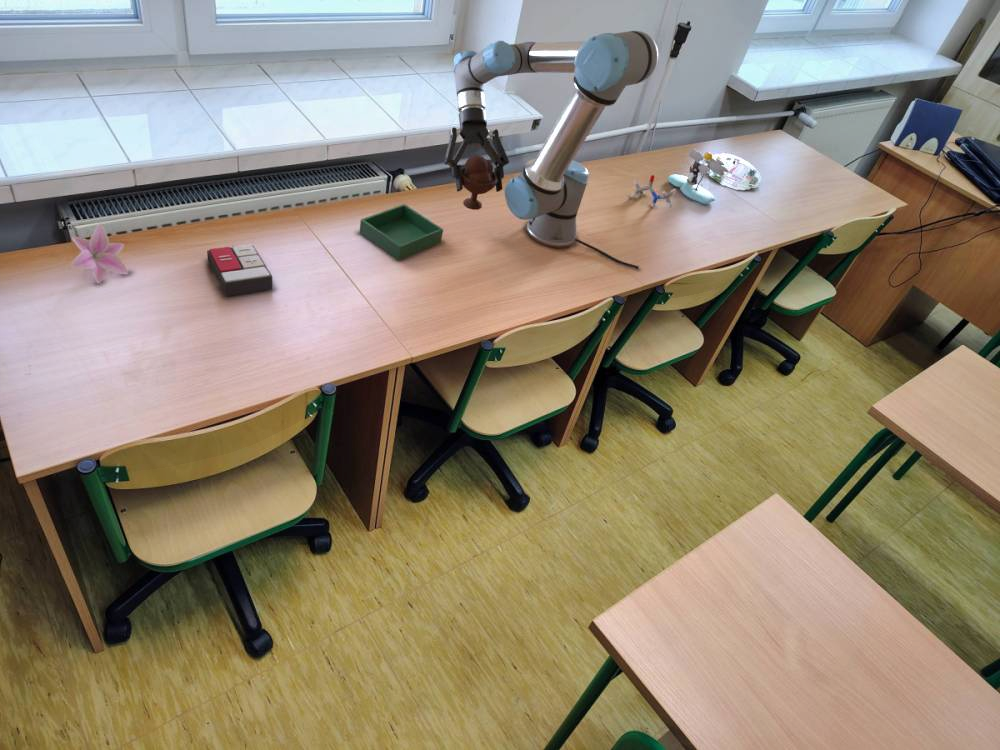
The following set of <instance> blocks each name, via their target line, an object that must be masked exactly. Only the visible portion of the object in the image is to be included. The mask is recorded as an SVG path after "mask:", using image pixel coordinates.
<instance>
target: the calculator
mask: <svg viewBox="0 0 1000 750" xmlns="http://www.w3.org/2000/svg"><path fill="white" fill-rule="evenodd" d="M206 254H207V255H206V256H207V262H208V264H209V266H210V268H211V269H212V272H213V274H214V276H215V277H216V280H217V282H218V283H219V287H220V289H221V291H222V294H223V295H224V296H225V297H231V296H238V295H245V294H250V293H257V292H264V291H271V290H273V275H272V274H271V272H270V270H269V269H268V267H267V265H266V264H265V262H264V260H263V259H262V257H261V256H260V253H259V252H258V251H257V249H256V247H255V245H254V244H252V243H249V244H240V245H233V246H231V247H230V246H224V247H215V248H210V249H209V250H207V251H206Z"/></svg>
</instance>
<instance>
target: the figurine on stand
mask: <svg viewBox="0 0 1000 750" xmlns="http://www.w3.org/2000/svg"><path fill="white" fill-rule="evenodd" d="M712 155H713V154H712V153H711V152H709V151H708V152H705V153H704V155H703V154H702V153H701V152H700V151H699V150H697V149H695V148H691V149H690V152H689V153H688V156H689V158H691V159H692V160H694V162H693V163H692V166H689V174H688V177H687V176H686V175H681V174H677V173H676V174H675V173H674V174H669V176H668V177H667V181H668V183H670V184H671V185H672V186H674V187H676V188H679V189H680V191H681V193H682V194H683V195H685V197H687V198H688V199H690V200H692V201H695V202H697V203H700V204H702V205H709V204H711V203H712V202H715V201H716V198H715V196H714V195H713V194H712V193H711V192H710V191H709V190H707V189H706V188H704V187H703V184H701V183H702V181H703V179H706V175H707V174H709V173H708V172H709V171H710V169H711V170H712V171H713V172H716V173H717V174H719V175H720V176H723V175H724V172H728V169H727V168H726V167H725V166H724V163H723V162H722V161H721V160H720V159H714V158H712ZM704 163H706V164H708V165H709V168H710V169H709V168H708V167H707V165H706V166H705V164H704ZM683 168H684V167H683V166H681V169H683ZM723 171H724V172H723ZM699 176H701V178H700V179H699V181H698V177H699Z"/></svg>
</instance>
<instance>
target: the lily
mask: <svg viewBox="0 0 1000 750" xmlns="http://www.w3.org/2000/svg"><path fill="white" fill-rule="evenodd" d="M71 239H72V241H73V243H74V244H75V245H76V247H77V248H78V249H79V250H80V252H79V254H78V255H77V256H76V257H75V258H74V259H73V260H72V261H71V263H70V264H69V268H71V269H72V270H73V269H74V270H91V272H92V275H93V278H94V279H95V281H96V283H97V284H101V282H102V281H103V280H104V277H105V275H106V272H111V273H115V274H121V275H128V274H129V271H128V269H127V267H126V265H125V264H124V263H123V261H122V260H121V259H120V258H119V257H118V256H117V255H118V254H119V253H120V252H122V250H123V249H124V247H125V244H124V243H121V242H110V240H109V237H108V234H107V231H106V229H105V227H104V226H103V224H102V223H101V222H100V223H97V225H96V226H95V229H94V230H93V232H92V234H91V237H90V239H86V238H84V237H80V236H74V235H72V236H71Z"/></svg>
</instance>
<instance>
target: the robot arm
mask: <svg viewBox="0 0 1000 750" xmlns="http://www.w3.org/2000/svg"><path fill="white" fill-rule="evenodd" d="M658 62H659V49H658V46H657V44H656V41H655V40H654V38H653V37H652V36H651V35H650V34H648V33H646V32H644V31H642V30H641V31H640V30H630V31H623V32H614V33H613V32H604V33H600V34H597V35H595V36H592V37H590V38H588V39H587V40H572V41H571V40H570V41H541V42H539V41H538V42H536V41H525V42H521V43H513V44H512V43H511V44H509V43H508V42H506V41H504V40H497V41H495V42H493V43H490V44H488V45H487V46H486V47H484V48H483V49H482V50H480V51H479V52H478V51H474V50H464V51H461V52H460V51H459V52H458V53H456V55H455V56H454V59H453V74H454V81H455V90H456V101H457V111H458V112H459V113H458V122H459V128H456V127H455V126H454V127H452V128H451V129H450V130H449V141H448V144H447V148H446V152H445V157H444V161H443V163H444V165H446V166H447V165H448V166H449V168H450V169H451V176H452V179H455V185H456V192H461V191H462V190H463V189H464V186H463V185H462V175H461V168H462V166H461V164H458V163H459V162H460V160H461V158H462V156H463V154H464V153H465V151H466V149H467V147H472V146H475V147H480V148H481V149H483V150H484V152H485V153H486V154H487V156H488V158H489V159H490V160H491V161H492V163H493V164H494V165H495V167H493V172H494V173H496V174H497V178H498V182H497V184H496V185H495V191H496V193H497V192H501V191H502V190H503V179H504V178H505V173H504V171H505V170H504V167H506V166H507V165H508V164H509V163H510V160H509V157H508V155H507V152H506V151H505V148H504V146H503V143H502V142H501V141H502V140H501V139H500V134H499V130H498V129H497V128H496V129H493V130H489V129H488V122H487V120H488V119H487V112H486V102H485V101H486V100H485V92H484V84H487V83H488V82H490V81H492V80H493V79H495V78H498V77H499V78H500V77H506V76H510V75H517V74H531V73H533V74H537V73H549V74H550V73H551V74H552V73H554V74H555V73H556V74H557V73H558V74H560V73H561V74H574V76H573V81H572V82H573V84H574V89H573V91H572V93H571V94H570V96H569V98H568V100H567V102H566V104H565V105H564V107H563V108H562V111H561V112H560V114H559V116H558V117H557V120H556V122H555V123H554V125H553V127H552V128H551V130H550V132H549V134H548V136H547V138H546V139H545V141H544V143H543V144H542V146H541V148H540V150H539V152H538V153H537V155H536V157H535V158H534V159H530V160H528V161H527V162H526V163H525V165H524V167H523V169H522V170H521V172H520V174H519V175H518V176H514V177H512V178H511V179H509V180H508V181H507V183H506V184H505V188H504V198H505V202H506V203H505V204H506V205H507V208H508V209H509V211H510V212H511V213H512V214H513V216H514V217H516V218H518V219H519V220H523V221H527V224H526V228H525V231H526V233H527V235H528V236H529V237H530V238H531V239H532V240H534V241H535V242H537V243H538V244H541V245H542V246H545V247H549V248H554V249H555V248H556V249H565V248H568V247H571V246H572V245H574V244H575V242H577V243H578V244H581V245H582V246H585V247H587V248H589V249H591V250H593V251H595V252H596V253H599V254H601V255H603V256H605V257H607V258H608V259H610V260H611V261H614V262H616V263H618V264H620V265H624V266H626V267H630V268H634V269H637V270H638V269H639V268H640V266H639V265H636V264H632V263H629V262H626V261H622V260H620V259H617V258H615V257H613V256H612V255H610V254H608V253H606V252H605V251H603V250H601V249H599V248H598V247H595V246H593V245H591V244H589V243H587V242H585V241H582V240H580V239H578V238H577V233H578V231H577V216H578V212H579V209H580V206H581V203H582V200H583V198H584V194H585V190H586V189H587V188H586V187H587V186H588V180H589V176H590V174H589V171H588V169H587V168H586V166H584V165H583V164H581V163H580V162H579V161H576V160H574V159H575V157H576V155H578V153H579V151H580V150H581V147H582V146H583V144H584V142H585V141H586V140H587V137H588V136H589V134H590V133H591V131H592V130H593V128H594V126H595V125H596V124H597V122H598V120H599V118H600V116H601V115H602V114H603V112H604V110H605V108H606V107H610V106H613V105H615V104H616V103H617V101H618V99H619V97H621V95H622V93H623V91H624V90H625V88H626V87H627V86H632V85H637V84H639V83H643V82H644V81H646V80H647V79H648V78H650V77H651V76H652V75H653V73H654V71H655V69H656V68H657V65H658ZM459 136H460V137H461V138H462V141H461V144H460V146H459V148H458V150H456V151H457V152H455V153H456V154H455V155H454V151H455V147H456V144H457V140H458V139H457V138H458V137H459ZM488 137H489V139H490V140H491V142H490V140H489V139H488ZM491 143H492V144H491ZM492 145H493V146H492ZM453 156H454V157H453Z"/></svg>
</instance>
